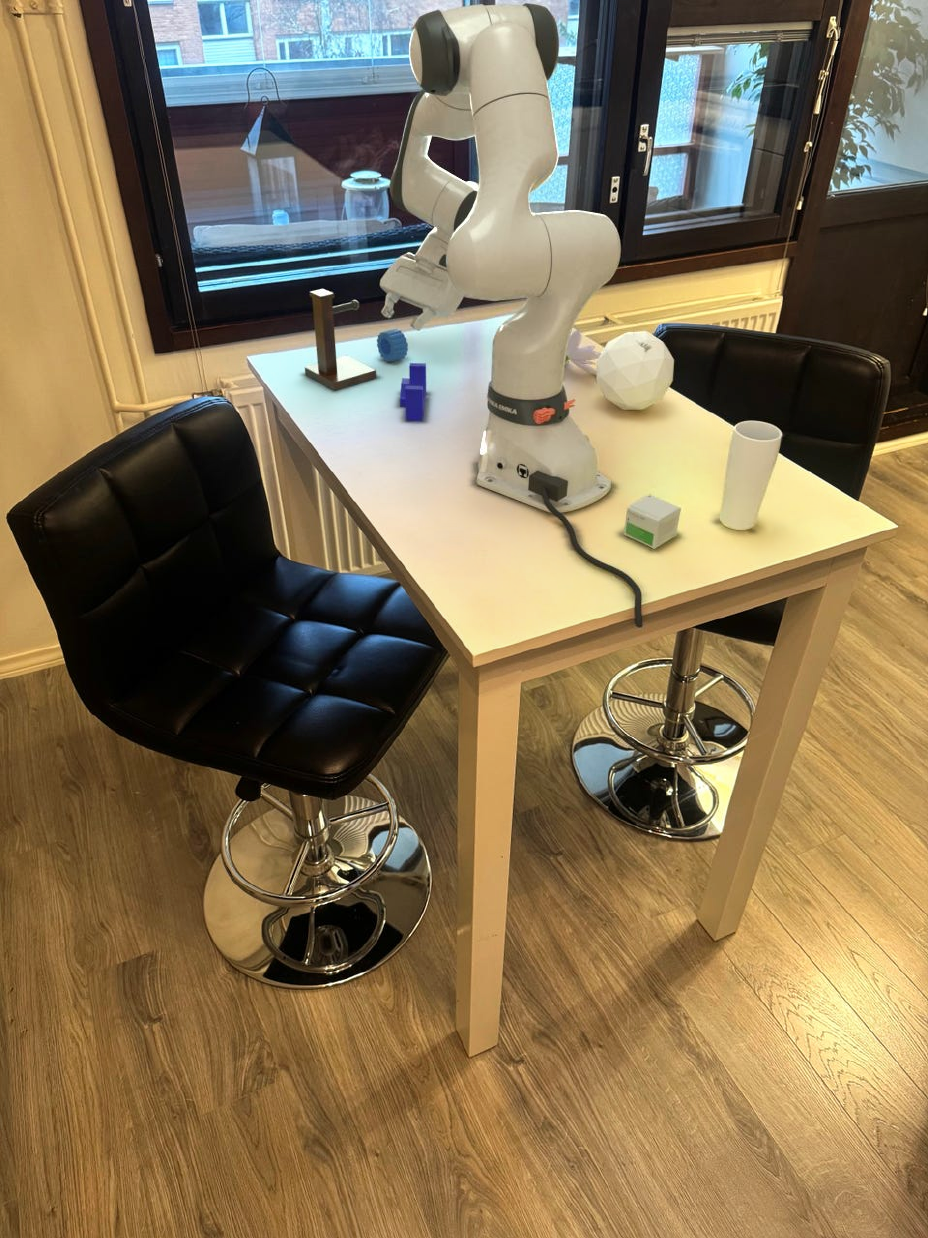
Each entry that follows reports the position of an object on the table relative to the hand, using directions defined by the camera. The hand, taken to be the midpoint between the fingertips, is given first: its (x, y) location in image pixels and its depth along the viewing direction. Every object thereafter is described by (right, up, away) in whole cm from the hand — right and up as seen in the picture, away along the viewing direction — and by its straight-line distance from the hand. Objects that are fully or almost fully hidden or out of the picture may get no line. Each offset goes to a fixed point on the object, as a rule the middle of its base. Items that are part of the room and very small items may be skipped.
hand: (399, 321), depth 180 cm
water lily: (+35, -11, 0) cm, 37 cm away
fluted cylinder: (-1, -7, +4) cm, 8 cm away
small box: (+40, -47, -48) cm, 79 cm away
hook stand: (-11, -12, -3) cm, 17 cm away
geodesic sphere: (+44, -20, -12) cm, 49 cm away
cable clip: (+3, -20, -14) cm, 25 cm away
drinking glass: (+54, -45, -45) cm, 83 cm away
